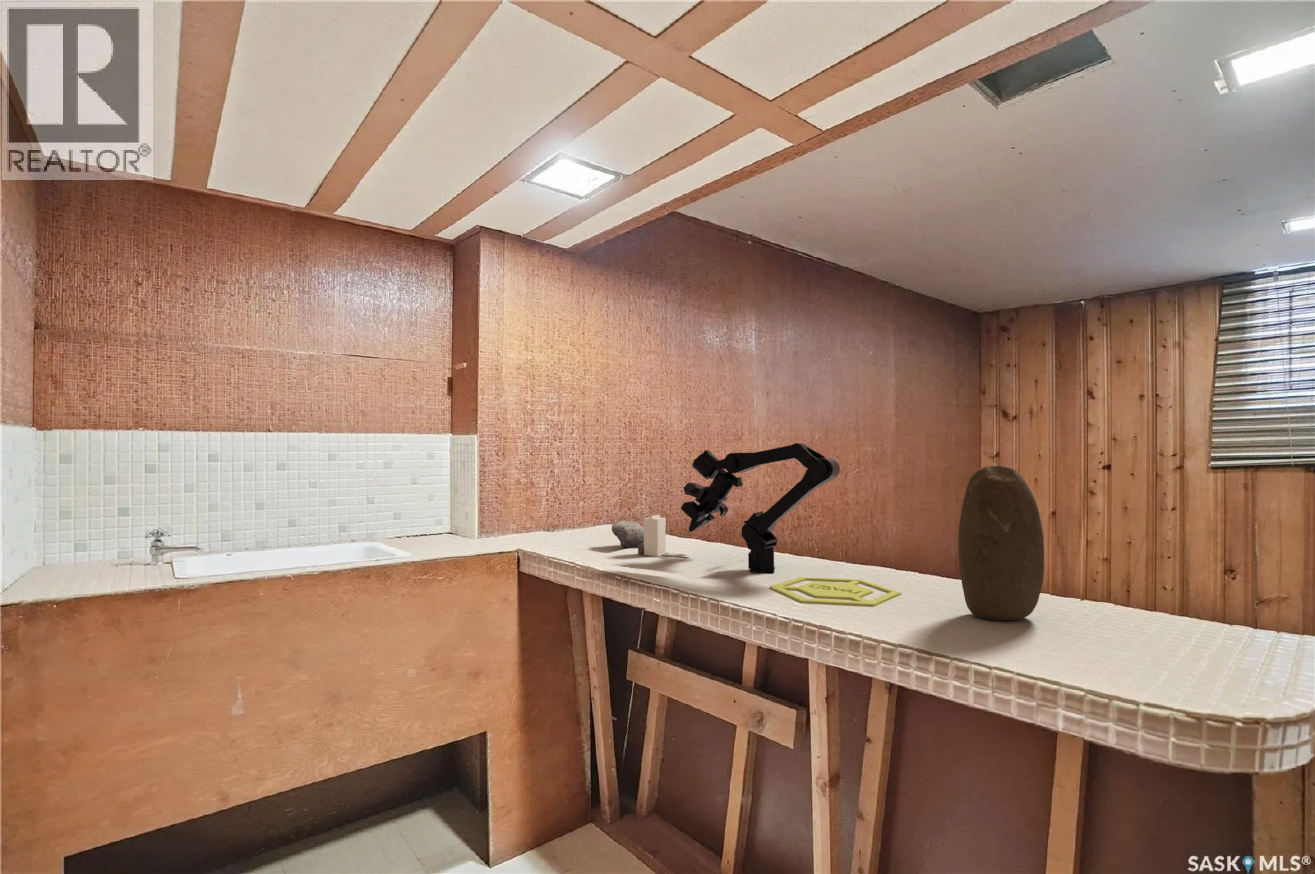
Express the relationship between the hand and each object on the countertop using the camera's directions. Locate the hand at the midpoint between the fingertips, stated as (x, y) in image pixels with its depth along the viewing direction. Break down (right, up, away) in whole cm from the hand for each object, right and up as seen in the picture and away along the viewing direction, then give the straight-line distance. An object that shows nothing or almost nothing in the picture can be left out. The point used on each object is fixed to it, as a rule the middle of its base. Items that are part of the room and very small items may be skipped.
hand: (690, 530), depth 185 cm
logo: (+32, -9, -37) cm, 50 cm away
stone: (+58, -8, -61) cm, 84 cm away
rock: (-18, -10, +27) cm, 34 cm away
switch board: (-7, -9, +5) cm, 13 cm away
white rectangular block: (-10, -8, +7) cm, 15 cm away
